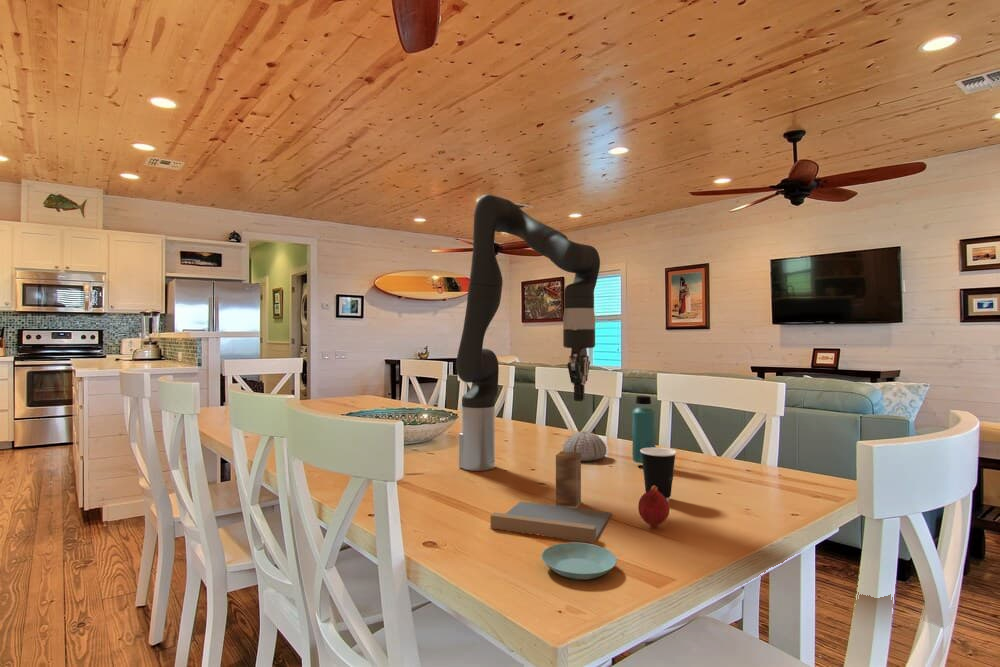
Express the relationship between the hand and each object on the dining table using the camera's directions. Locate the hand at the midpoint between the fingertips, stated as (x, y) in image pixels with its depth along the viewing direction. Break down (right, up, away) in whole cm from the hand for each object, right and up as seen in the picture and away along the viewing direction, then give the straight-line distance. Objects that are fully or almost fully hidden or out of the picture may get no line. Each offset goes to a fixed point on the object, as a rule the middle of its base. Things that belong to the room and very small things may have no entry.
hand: (579, 400), depth 129 cm
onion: (+11, -22, -24) cm, 34 cm away
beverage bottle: (+22, -22, +26) cm, 40 cm away
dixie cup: (+17, -22, -6) cm, 28 cm away
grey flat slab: (-8, -22, -20) cm, 30 cm away
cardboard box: (-4, -22, -9) cm, 24 cm away
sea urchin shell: (+7, -22, +36) cm, 43 cm away
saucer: (-6, -22, -43) cm, 49 cm away
